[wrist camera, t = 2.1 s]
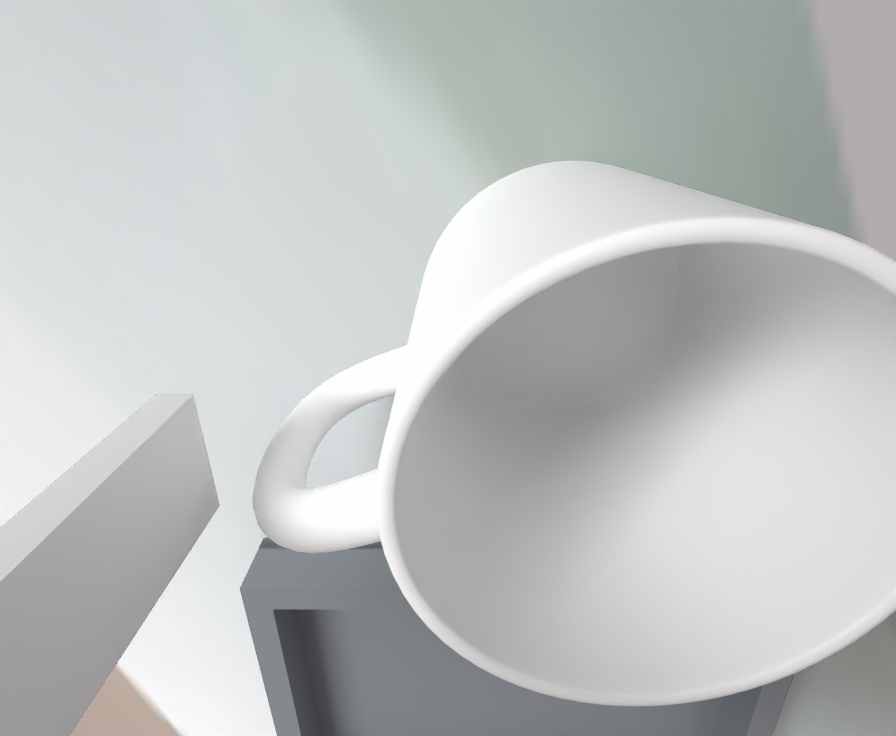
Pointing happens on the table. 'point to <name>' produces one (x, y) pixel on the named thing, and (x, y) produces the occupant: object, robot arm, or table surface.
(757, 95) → the table surface
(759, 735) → the grey tray
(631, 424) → the cup
